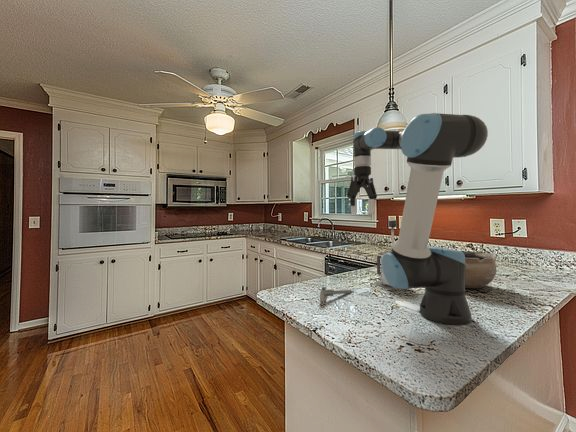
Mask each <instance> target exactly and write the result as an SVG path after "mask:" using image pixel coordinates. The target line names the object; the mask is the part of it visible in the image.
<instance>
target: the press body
mask: <svg viewBox="0 0 576 432" xmlns="http://www.w3.org/2000/svg"><path fill="white" fill-rule="evenodd" d="M386 253H391V251H389V250H388V251H383V252H378V254H377V255H376V274H377V275H380V277H381V278H380V280H381V282H382V285H384V286H388V287H392V286H391V285H390V284H389V283H388V282H387V280H386V278H385V276H384V273H383V269H382V258H383V255H384V254H386Z"/></svg>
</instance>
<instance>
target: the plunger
mask: <svg viewBox="0 0 576 432" xmlns="http://www.w3.org/2000/svg"><path fill="white" fill-rule="evenodd" d="M387 221H388V228H390V229H391V235H390V236H391V237H390V238H391V241H390V242H391V246H392V245H393V244H394V243H395V228H397V227H398V225H397V224H398V221H397V220H396V219H395V220H394V219H389V220H387Z"/></svg>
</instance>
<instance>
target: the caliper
mask: <svg viewBox="0 0 576 432" xmlns="http://www.w3.org/2000/svg"><path fill="white" fill-rule="evenodd" d="M353 292H354V291H353V290H352V289H329V288H328V289H327V287H326V286H322V287H321V290H320V293H319V303H322V304H323V303H326V302H327V300H328V297H334V295H344V294H348V295H349V294H352V293H353Z"/></svg>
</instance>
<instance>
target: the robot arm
mask: <svg viewBox="0 0 576 432" xmlns="http://www.w3.org/2000/svg"><path fill="white" fill-rule="evenodd" d="M488 133H489V130H488V127H487V125H486V123H485V122H484V121H483V120H482V119H480V117H477V116H474V115H471V114H451V113H440V112H439V113H438V112H437V113H436V112H433V113H432V112H431V113H420V114H418V115H416V116H415V117H413V118H412V119H410V121H409V122H408V124H407V125H406V127H405V129H404V130H385V129H383V128H382V127H378V126H376V127H373V128H371V129H369V130H360V131H357V132H355V133H354V134H353V140H352V143H353V166H354V168H353V176H351V177H350V183H349V187H348V191H347V194H346V197H347V198H348V200H349V199H350V214H358V199H357V198H356V197H357V195H358V194H359V191H361V188H363V189H364V190H365V193H366V195H367V196H368V199H367V205H368V206H367V207H368V208H367V211H368V212H367V214H374V213H375V200H376V199H377V198H378V195H377V191H376V187H375V185H374V178H373V177H370V175H371V174H372V167H371V166H372V151H373V150H401V152H402V155H404V156H405V157H407V158H406V164H407V165H408V166H409V167H410V173H409V177H408V184H407V188H406V193H405V200H404V206H403V211H402V217H401V223H400V228H399V235H398V239H397V241H394V244H393V245H392V244H391V253H386V254H384V255H383V258H382V269H383V273H384V276H385V278H386V280H387V282H388V283H389V284H390V285H391V286H392V287H394V288H404V289H403V290H408V289H407V288H409V289H414V288H419V289H420V288H425V289H424V290H425V291H424V293H423V296H422V299H421V302H420V304H419V313H420V315H421V316H423V317H424V318H425V319H427V320H430V321H433V322H436V323H440V324H446V325H453V326H454V325H455V326H461V325H462V326H463V325H467V324H470V323H471V322H472V312H471V309H470V307H469V306H470V305H469V303H468V301H467V300H468V299H467V297H466V288H465V268H466V263H465V255H464V253H463V252H461V251H462V250H458V249H453V248H448V247H441V246H431V245H428V244H429V240H430V235H431V231H432V228H433V227H432V226H433V222H434V217H435V213H436V208H437V203H438V198H439V193H440V189H441V184H442V180H443V175H444V172H445V171H446V170H447V169H448V168H450V167H451V166H452V163H453V159H454V158H455V159H456V158H465V157H469V156H472V155H474V154H476V153H477V152H479V151H480V150H481V149H482V148H483V147H484V146H485V144H486V142H487V140H488V135H489V134H488ZM369 177H370V178H369Z"/></svg>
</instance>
